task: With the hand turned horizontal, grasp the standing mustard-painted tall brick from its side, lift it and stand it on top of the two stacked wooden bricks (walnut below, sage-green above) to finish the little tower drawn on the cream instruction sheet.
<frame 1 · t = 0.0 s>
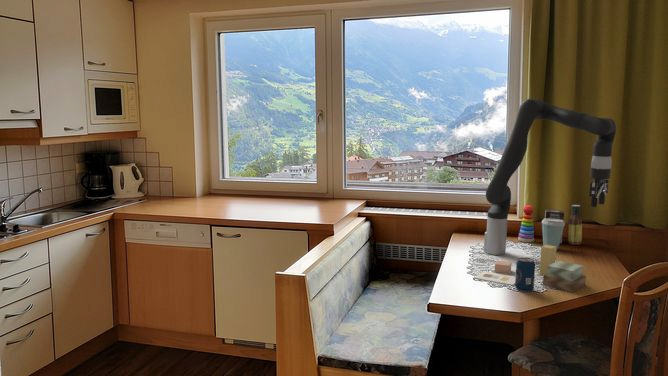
hand: (597, 205, 240), 29 cm above the table, tool pointing down, fingers open, 8 cm apart
stacking toy: (526, 241, 299), on the table
tall brick: (547, 274, 243), on the table
sauce bottle: (574, 244, 293), on the table
soda can: (524, 289, 224), on the table
disposable coffee cup: (551, 249, 283), on the table
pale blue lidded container: (552, 241, 298), on the table
tower base: (564, 285, 229), on the table
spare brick: (502, 272, 246), on the table
instruction sheet: (497, 278, 237), on the table
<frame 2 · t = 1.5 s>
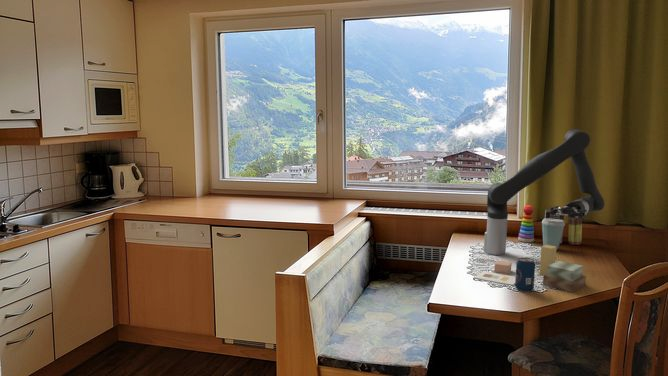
hand: (561, 214, 247), 24 cm above the table, tool horizontal, fingers open, 8 cm apart
nothing on the table moved.
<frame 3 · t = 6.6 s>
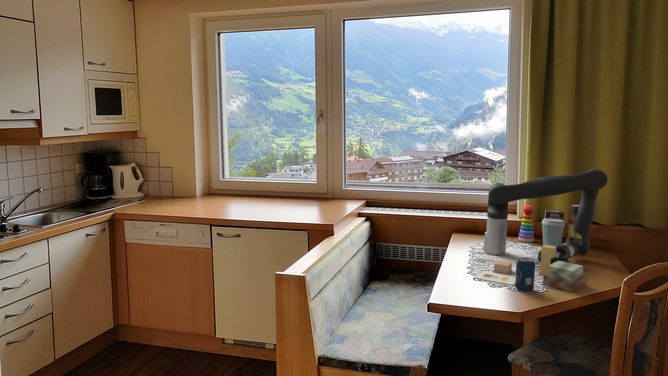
hand: (545, 260, 240), 7 cm above the table, tool horizontal, fingers closed on tall brick, 4 cm apart
tall brick: (547, 274, 243), on the table, touching gripper
everything else where it was.
when the fingers open (15 cm above the table, at t = 10.6 s): tall brick stays where it is, resting on tower base.
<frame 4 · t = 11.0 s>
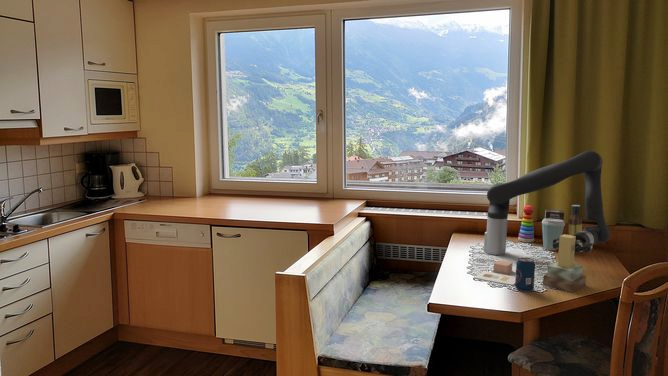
hand: (564, 248, 225), 16 cm above the table, tool horizontal, fingers open, 8 cm apart
tall brick: (565, 265, 228), point 8 cm above the table, touching tower base
everything else where it was.
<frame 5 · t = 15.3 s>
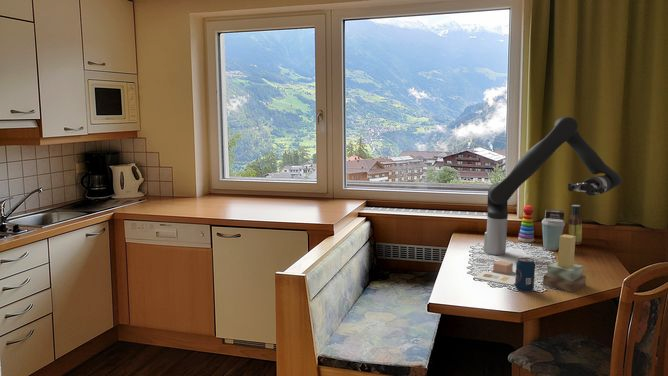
hand: (580, 190, 238), 36 cm above the table, tool horizontal, fingers open, 8 cm apart
nothing on the table moved.
at the end: tall brick inside the target area on the tower base (0.1 cm from its centre), point 8.0 cm above the tower base's base; tall brick tilted 0°; the gripper is holding nothing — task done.
